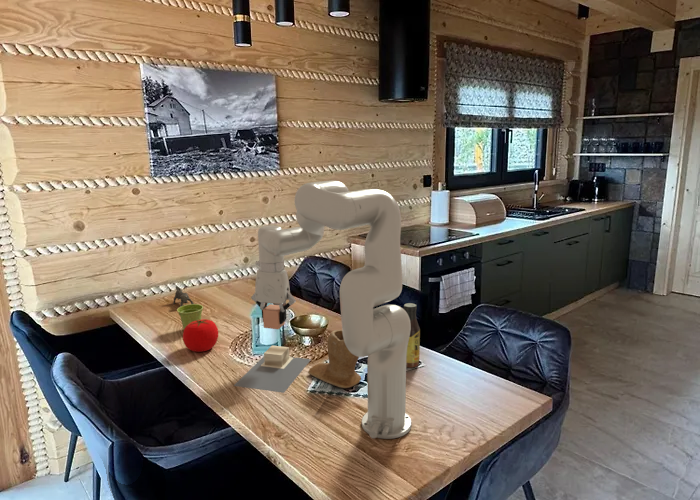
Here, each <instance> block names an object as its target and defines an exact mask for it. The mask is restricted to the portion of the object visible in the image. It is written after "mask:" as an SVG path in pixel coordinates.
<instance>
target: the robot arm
mask: <svg viewBox="0 0 700 500" xmlns="http://www.w3.org/2000/svg"><path fill="white" fill-rule="evenodd" d="M294 206H295V207H294V208H295V209H296V214H295V217H296V221H297V224H298V225H299V226H296V227H295V226H294V227H291V228H284V229H283V228H282V227H281V226H279V225H275V224H274V225H271V224H270V225H263V226H261V227H259V228H258V230H257V243H258V260H257V261H255V266H258V269H257V270H256V275H255V284H254V285H255V286H254V287H255V289H254V293H253V294H252V296H251V297H250V299H251V300H252V301H254V302H255V304H256V305H257V306H258V307H259V310H261V319H263V309H264V308H266V307H267V306H268V305H269V304H272V305H279V307H280V312H279V320H280V324H282V323H283V322H285V323H286V320H287V310H288V309H289V308H290V307H291V306H292V305H294V304H295V303H296V301H297V300H296V298H295V297H294V296H293V295H292V293H291V290H290V281H289V277H288V272H287V269H285V256H289V255H292V254H298V253H302V252H306V251H309V250H310V249H312V248H314V247H315V246H316V245H317V244H319V242H320V241H321V240H322V239H323V237H324V232H325V227H326V228H329V229H332V230H336V231H339V230H340V231H341V230H349V229H355V228H359V227H364V226H367V225H368V226H370V229H369V230H368V232H367V235H366V238H365V242H364V249H363V250H364V265H363V266H362V267H357V268H355V269H352V270H350V271H348V272H347V273H346V274H345V275H344V276H343V278H342V280H341V282H340V285H339V305H340V318H341V330H342V332H343V338H344V342H345V345H346V347H347V348H348V350H349V351H350V352H351V353H352V354H353V355H355V356H358V357H359V358H363V357H367V363H366V364H367V368H366V369H367V372H366V373H367V379H366V380H367V412H366V413H365V414H364V415H362V417H361V427H362V430H364V432H366V433H367V434H368V435H369V437H370V438H371V439H376V438H378V439H385V440H391V439H396V438H397V439H398V438H401V437H403V436H405V435H406V434H408V433H409V432H410V430H411V428H412V418H411V417H410V416H409V414H408V413H406V407H407V406H406V394H407V393H406V392H407V390H406V389H407V381H406V380H407V379H406V378H407V367H406V355H407V346H408V341H409V336H410V330H411V323H410V319H409V316H408V314H407V312H406V311H405V310H404V307H401V306H399V305H396V304H386V303H388V302H391V301H393V300H395V299H397V298H398V297H399V296H400V295H401V293H402V290H403V269H402V268H403V267H402V252H401V232H402V214H401V210H400V206H399V204H398V202H397V200H396V199H395V197H393V196H392V195H391V194H390V193H389V192H387V191H385V190H382V189H377V188H368V189H367V188H366V189H359V190H358V189H357V190H353V191H352V190H351V191H350V189H349V188H348V187H347V185H345V184H344V182H341V181H339V180H324V181H323V180H322V181H321V180H320V181H311V182H307V183H304V184H302V185H301V186H299V187H298V189H297V191H296V192H295V195H294ZM287 301H288V302H287ZM384 304H385V305H384ZM380 305H381V306H380ZM378 306H379V307H378ZM375 307H376V308H375Z"/></svg>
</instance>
